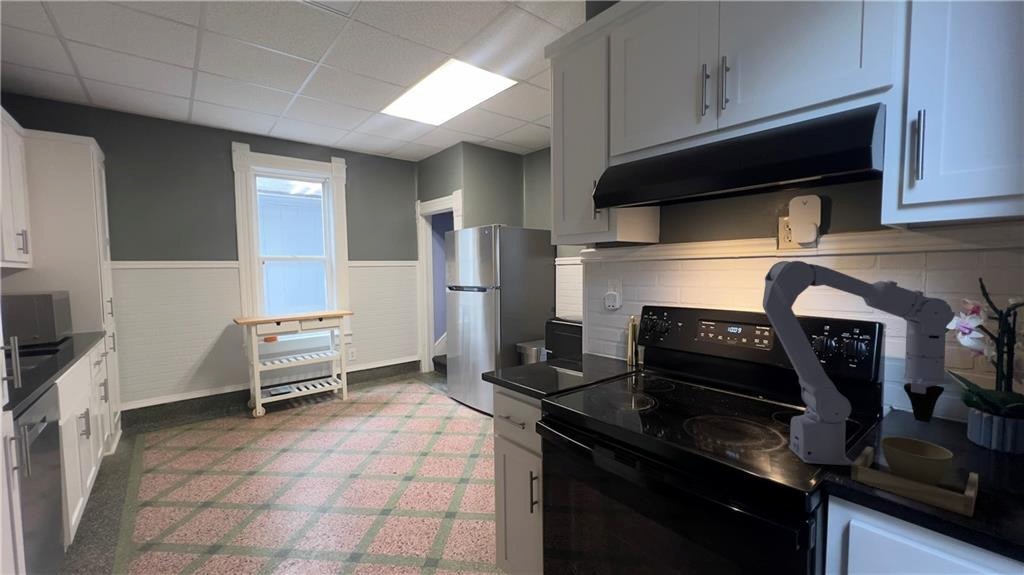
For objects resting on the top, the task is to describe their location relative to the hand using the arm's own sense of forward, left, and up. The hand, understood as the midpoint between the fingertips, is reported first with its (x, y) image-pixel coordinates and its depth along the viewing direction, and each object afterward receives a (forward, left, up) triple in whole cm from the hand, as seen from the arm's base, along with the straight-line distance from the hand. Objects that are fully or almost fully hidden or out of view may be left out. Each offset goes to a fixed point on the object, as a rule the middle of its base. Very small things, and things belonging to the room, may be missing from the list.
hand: (922, 420), depth 86 cm
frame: (-6, -8, -10) cm, 14 cm away
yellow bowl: (-6, -7, -10) cm, 14 cm away
